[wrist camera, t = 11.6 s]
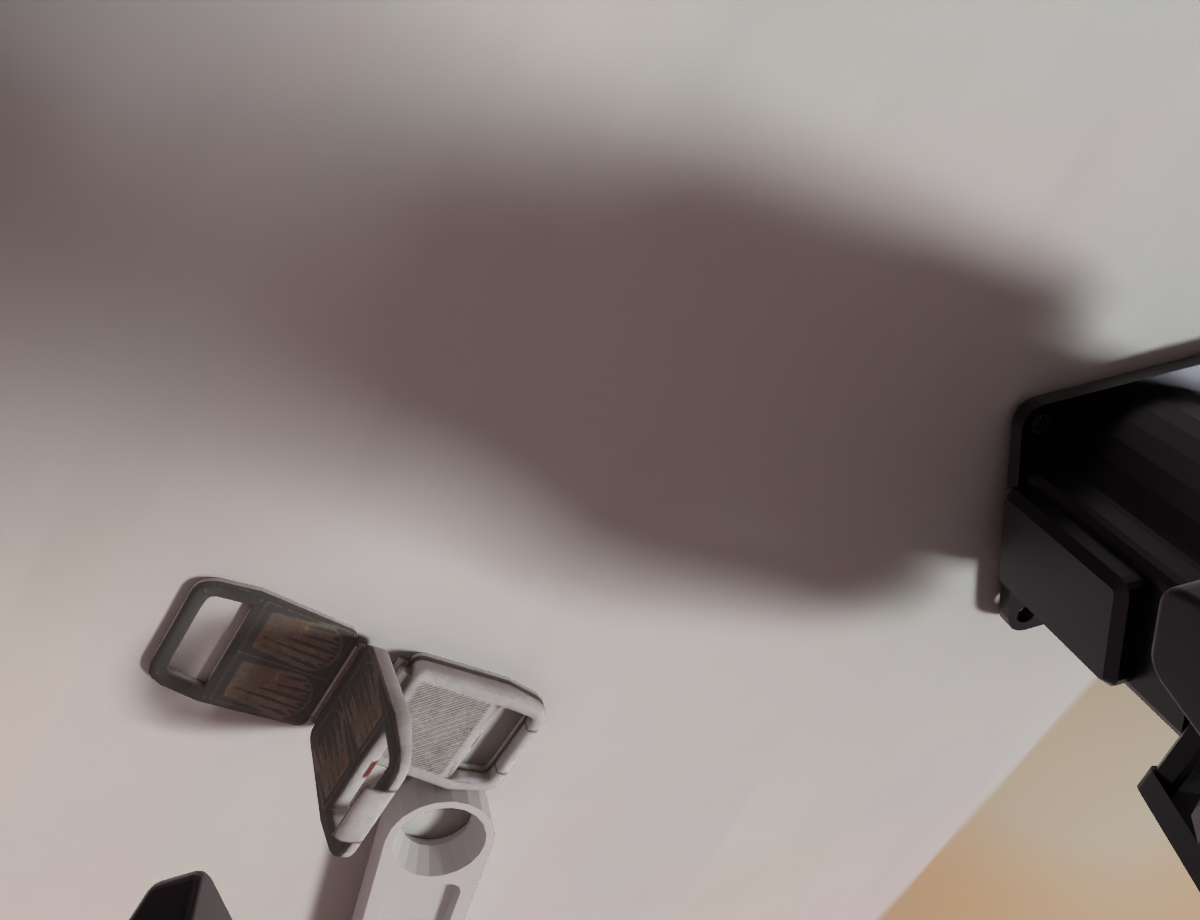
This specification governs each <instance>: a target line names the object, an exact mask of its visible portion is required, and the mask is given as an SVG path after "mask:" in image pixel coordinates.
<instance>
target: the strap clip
mask: <svg viewBox="0 0 1200 920" xmlns="http://www.w3.org/2000/svg"><path fill="white" fill-rule="evenodd" d="M211 596H218V597H222V598H226V599H230V600H234V601H238V602H242V603H246V604H251V607H250V609H249V610H248V612H247V614H246V615H245V617H244V619H243V620H242V622H241V624H240V625H239V627H238V629H237V630H236V632H235V634H234V636H233V637H232V639H231V641H230V642H229V644H228V646H227V647H226V649H225V651H224V652H223V654H222V656H221V657H220V659H219V661H218V663H217V664H216V666H215V668H214V669H213V671H212V673H211V674H210V676H209V678H208V679H207V681H206V683H204V682H202V681H199V680H197V679H195V678H192V677H190V676H187V675H185V674H183V673H180V672H178V671H176V670H173V669H172V668H171V667H169V665H168V664H169V662H170V660H171V658H172V656H173V654H174V653H175V651H176V649H177V647H178V646H179V644H180V642H181V641H182V639H183V637H184V635H185V634H186V632H187V630H188V628H189V627H190V625H191V623H192V621H193V620H194V618H195V616H196V614H197V613H198V611H199V609H200V608H201V606H202V605H203V603H204V602H205V601H206V599H207V598H209V597H211ZM365 645H366V644H364V643H361V642H359V641H358V632H357V629H356V628H355V627H353V626H352V625H349V624H347V623H344V622H342V621H340V620H337V619H335V618H333V617H330V616H328V615H326V614H323V613H321V612H318V611H316V610H314V609H311V608H309V607H307V606H304V605H302V604H300V603H297V602H295V601H292V600H290V599H288V598H285V597H283V596H281V595H278V594H276V593H273V592H271V591H269V590H266V589H264V588H261V587H257V586H253V585H248V584H244V583H240V582H235V581H231V580H226V579H222V578H205V579H201V580H199V581H197V582H196V583H195V584H194V585H193V586H192V588H191V589H190V591H189V593H188V595H187V597H186V598H185V600H184V602H183V604H182V605H181V607H180V609H179V611H178V612H177V614H176V616H175V618H174V620H173V621H172V623H171V625H170V627H169V628H168V630H167V632H166V634H165V635H164V637H163V639H162V641H161V642H160V644H159V646H158V648H157V650H156V651H155V653H154V655H153V657H152V658H151V662H150V667H149V673H150V675H151V677H152V678H153V679H154V680H155V681H157V682H158V683H159V684H160V685H163V686H165V687H167V688H170V689H172V690H174V691H176V692H179V693H181V694H183V695H185V696H188V697H190V698H192V699H195V700H197V701H200V702H204V703H208V704H212V705H216V706H220V707H224V708H228V709H232V710H236V711H240V712H244V713H248V714H252V715H256V716H260V717H264V718H268V719H272V720H276V721H280V722H284V723H288V724H292V725H301V724H304V723H305V722H306V721H308V719H309V718H312V719H311V721H312V723H315V725H314V727H313V729H312V732H311V736H310V742H311V750H312V757H313V765H314V773H315V780H316V788H317V796H318V803H319V811H320V819H321V823H322V827H323V830H324V833H325V837H326V840H327V843H328V847H329V850H330V851H331V853H332V854H333V855H334V856H338V857H349V856H351V855H352V854H353V853H354V852H355V851H356V850H357V848H358V847H359V845H360V844H361V843H362V841H363V840H364V838H365V837H366V835H367V834H368V832H369V831H370V829H371V828H372V827H373V825H374V824H375V822H376V821H377V819H378V818H379V816H380V815H381V813H382V812H383V811H384V809H385V808H386V806H387V805H388V803H389V802H390V800H391V799H392V798H393V796H394V795H395V793H396V792H397V790H398V789H399V787H400V786H401V784H402V783H403V782H404V780H405V778H406V776H407V775H409V776H412V777H414V778H417V779H420V780H423V781H426V782H428V783H431V784H434V785H437V786H439V787H442V788H445V789H453V790H474V791H481V790H487V789H491V788H493V787H495V786H496V785H497V784H499V783H500V782H501V780H502V779H503V778H504V776H505V775H506V773H507V772H508V771H509V769H510V768H511V767H512V765H513V764H514V762H515V761H516V760H517V758H518V757H519V756H520V754H521V753H522V751H523V750H524V749H525V747H526V746H527V745H528V743H529V742H530V740H531V739H532V738H533V736H534V735H535V734H536V732H537V731H538V729H539V728H540V727H541V725H542V724H543V722H544V719H545V716H546V712H545V708H544V705H543V702H542V699H541V697H540V696H539V695H538V694H537V693H536V692H535V691H533V690H531V689H529V688H527V687H525V686H524V685H522V684H520V683H518V682H516V681H514V680H512V679H510V678H509V677H506V676H502V675H499V674H495V673H492V672H489V671H485V670H482V669H479V668H475V667H472V666H468V665H465V664H462V663H458V662H455V661H452V660H448V659H445V658H441V657H438V656H435V655H431V654H428V653H424V652H419V653H416V654H414V655H413V656H412V657H411V658H410V659H409V660H408V659H405V658H402V657H398V659H397V660H396V662H395V663H394V665H392V662H391V659H390V656H389V654H388V652H387V651H385V650H384V649H381V648H377V647H373V646H369V645H368V646H365ZM500 706H501V707H504V708H507V709H510V710H513V711H515V712H518V713H521V714H523V716H522V717H521V718H520V720H519V721H518V722H517V724H516V725H515V727H514V728H513V729H512V731H511V732H510V734H509V735H508V736H507V738H506V739H505V741H504V742H503V743H502V745H501V746H500V748H499V749H498V750H497V752H496V753H495V754H494V756H493V757H492V758H491V759H490V761H489V762H488V763H487V764H485V765H474V764H469V763H464V762H462V760H463V759H464V757H465V756H466V755H467V753H468V752H469V750H470V749H471V748H472V746H473V745H474V743H475V742H476V740H477V739H478V738H479V736H480V735H481V733H482V732H483V731H484V729H485V728H486V726H487V725H488V723H489V722H490V721H491V719H492V718H493V716H494V715H495V714H496V712H497V711H498V709H499V708H500ZM376 764H378V765H381V766H384V767H386V768H387V769H386V771H385V772H384V774H383V776H382V777H381V779H380V780H379V782H378V783H377V785H376V786H375V788H372V787H370V785H369V784H366V785H365V786H364V788H363V789H362V790H361V792H360V793H359V795H358V796H357V798H356V799H355V801H354V802H353V804H352V805H351V807H349V803H350V802H351V800H352V799H353V797H354V796H355V794H356V793H357V791H358V790H359V788H360V787H361V785H362V784H363V783H364V781H365V780H366V778H367V777H368V775H369V774H370V772H371V771H372V769H373V768H374V766H375V765H376Z"/></svg>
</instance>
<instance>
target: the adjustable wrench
mask: <svg viewBox="0 0 1200 920" xmlns="http://www.w3.org/2000/svg"><path fill="white" fill-rule="evenodd" d="M442 808H455V809H461V810H465V811H467V812H469V813H471V818H470V820H469V822H467V823H466V824H465V825H464V826H463V827H462V828H461V829H460V830H458V831H457V832H455V833H453V834H451V835H449V836H446V837H442V838H439V839H428V840H426V839H420V838H415V837H412V836H410V835H408V834H406V833H405V832H404V831H403V828H402V827H403V826H404V825H405V824H406V823H407V822H408V821H409V820H411V819H413V818H415V817H416V816H418V815H420V814H421V813H425V812H428V811H431V810H434V809H442ZM493 840H494V827H493V822H492V817H491V812H490V807H489V802H488V798H487V795H486V792H485V790H481V791H474V790H453V789H445V788H442V787H439V786H437V785H434V784H431V783H428V782H426V781H423V780H420V779H417V778H414V777H413V778H412V779H410V780H408V781H407V782H405V783H403V784H401V786H400V787H399V789H398V790H397V792H396V793H395V795H394V796H393V798H392V799H391V800H390V802H389V803H388V805H387V806H386V808H385V809H384V811H383V812H382V813H381V816H380V819H379V823H378V827H377V830H376V834H375V837H374V841H373V844H372V848H371V852H370V855H369V859H368V862H367V866H366V869H365V873H364V877H363V880H362V884H361V887H360V891H359V894H358V898H357V902H356V905H355V909H354V912H353V916H352V919H351V920H464V919H465V916H466V914H467V911H468V908H469V906H470V903H471V901H472V898H473V895H474V893H475V890H476V887H477V885H478V882H479V880H480V877H481V874H482V872H483V869H484V866H485V864H486V861H487V859H488V856H489V853H490V851H491V848H492V845H493Z"/></svg>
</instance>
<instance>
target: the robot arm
mask: <svg viewBox="0 0 1200 920" xmlns="http://www.w3.org/2000/svg"><path fill="white" fill-rule="evenodd" d="M1040 415H1041V418H1040V420H1039V421H1038V422H1037V423H1036V424H1035V425H1033V426H1032V424H1033V421H1034V420H1035V419H1036V418H1037V417H1038V416H1040ZM999 579H1000V581H1001V590H1000V606H999V612H1000V616H1001V617H1002V618H1003V619H1004V620H1005V621H1006V622H1007V623H1008V624H1009V625H1010V627H1011V628H1012V629H1015V630H1025V629H1029V628H1032V627H1036V626H1039V625H1043V624H1044V625H1045V626H1046V627H1047V628H1048V629H1049V630H1050V631H1051V632H1052V633H1053V634H1054V635H1055V636H1056V637H1057V638H1058V639H1059V640H1061V641H1062V642H1063V643H1064V644H1065V645H1066V646H1067V647H1068V648H1069V649H1070V650H1071V651H1072V652H1073V653H1074V654H1075V655H1076V656H1077V657H1078V658H1079V659H1080V660H1081V661H1082V662H1083V663H1084V664H1085V665H1086V666H1087V667H1088V668H1089V669H1090V670H1091V671H1092V672H1093V673H1094V674H1095V675H1096V676H1097V677H1098V678H1099V679H1101V680H1102V681H1104V682H1105V683H1107V684H1109V685H1110V686H1115V685H1118V684H1121V683H1125V684H1126V685H1127V686H1128V687H1129V688H1130V689H1131V690H1132V691H1133V692H1134V693H1136V695H1138V696H1139V697H1140V698H1141V699H1142V700H1143V701H1144V702H1145V703H1146V704H1147V705H1148V706H1149V707H1150V708H1151V709H1152V710H1153V711H1154V712H1155V713H1156V714H1157V715H1158V716H1159V717H1160V718H1161V719H1162V720H1164V721H1165V722H1166V723H1167V724H1168V725H1169V726H1170V727H1171V728H1172V729H1173V730H1174V731H1175V732H1176V733H1177V734H1178V735H1179V738H1178V739H1177V741H1176V742H1175V743H1174V745H1173V746H1172V747H1171V749H1170V750H1169V752H1168V753H1167V754H1166V756H1165V757H1164V758H1163V760H1162V761H1161V762H1160V764H1159V765H1158V766H1151V768H1150V769H1149V770H1148V772H1147V773H1146V775H1145V776H1144V777H1143V779H1142V780H1141V781H1140V783H1139V784H1138V786H1137V787H1138V790H1139V791H1140V793H1141V795H1142V797H1143V798H1144V800H1145V802H1146V803H1147V805H1148V807H1149V808H1150V810H1151V812H1152V813H1153V815H1154V816H1155V818H1156V820H1157V822H1158V823H1159V825H1160V827H1161V828H1162V830H1163V832H1164V833H1165V835H1166V836H1167V838H1168V840H1169V842H1170V843H1171V845H1172V847H1173V848H1174V850H1175V851H1176V853H1177V855H1178V856H1179V858H1180V860H1181V861H1182V863H1183V865H1184V866H1185V868H1186V870H1187V871H1188V873H1189V875H1190V876H1191V878H1192V880H1193V881H1194V883H1195V885H1196V886H1197V888H1198V890H1199V891H1200V355H1197V356H1193V357H1189V358H1185V359H1181V360H1178V361H1174V362H1170V363H1166V364H1162V365H1158V366H1154V367H1150V368H1146V369H1142V370H1138V371H1135V372H1131V373H1127V374H1123V375H1119V376H1115V377H1111V378H1107V379H1103V380H1099V381H1095V382H1091V383H1088V384H1084V385H1080V386H1076V387H1072V388H1068V389H1064V390H1060V391H1056V392H1052V393H1048V394H1045V395H1041V396H1037V397H1033V398H1031V399H1028V400H1026V401H1025V402H1023V403H1022V404H1021V405H1020V406H1019V407H1018V408H1017V410H1016V411H1015V413H1014V415H1013V419H1012V425H1011V440H1010V455H1009V470H1008V485H1007V494H1006V496H1005V499H1004V508H1003V524H1002V539H1001V555H1000V570H999ZM1022 608H1023V609H1022ZM1021 609H1022V610H1021ZM1020 610H1021V611H1020ZM129 920H232V918H231V916H230V914H229V912H228V910H227V909H226V907H225V905H224V903H223V901H222V899H221V897H220V895H219V893H218V891H217V889H216V887H215V885H214V883H213V881H212V880H211V878H210V877H209V876H208V875H207V874H206V873H205V872H203V871H194V872H191V873H187V874H184V875H180V876H177V877H174V878H170V879H167V880H163V881H160V882H158V883H156V884H155V885H154V886H153V887H152V888H150V889H149V891H148V892H147V893H146V895H145V896H144V898H143V899H142V901H141V902H140V904H139V905H138V907H137V909H136V910H135V912H134V913H133V915H132V916H131V918H130V919H129Z"/></svg>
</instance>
